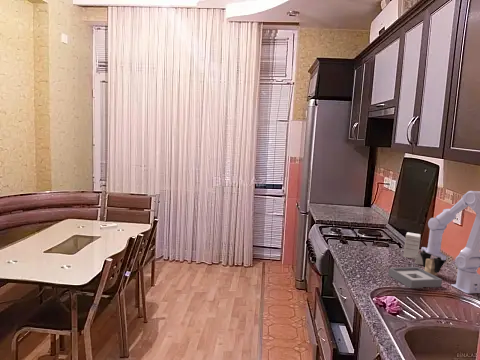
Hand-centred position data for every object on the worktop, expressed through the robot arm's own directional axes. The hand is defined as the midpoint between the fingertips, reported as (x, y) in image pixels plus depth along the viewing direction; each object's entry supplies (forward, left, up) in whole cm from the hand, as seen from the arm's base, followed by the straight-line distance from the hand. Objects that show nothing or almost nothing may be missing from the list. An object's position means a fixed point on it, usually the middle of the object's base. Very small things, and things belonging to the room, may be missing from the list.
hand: (431, 269), depth 204 cm
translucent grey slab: (+13, -6, -2) cm, 14 cm away
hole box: (-8, +16, -2) cm, 18 cm away
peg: (0, 0, -2) cm, 2 cm away
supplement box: (+26, -9, -2) cm, 28 cm away
